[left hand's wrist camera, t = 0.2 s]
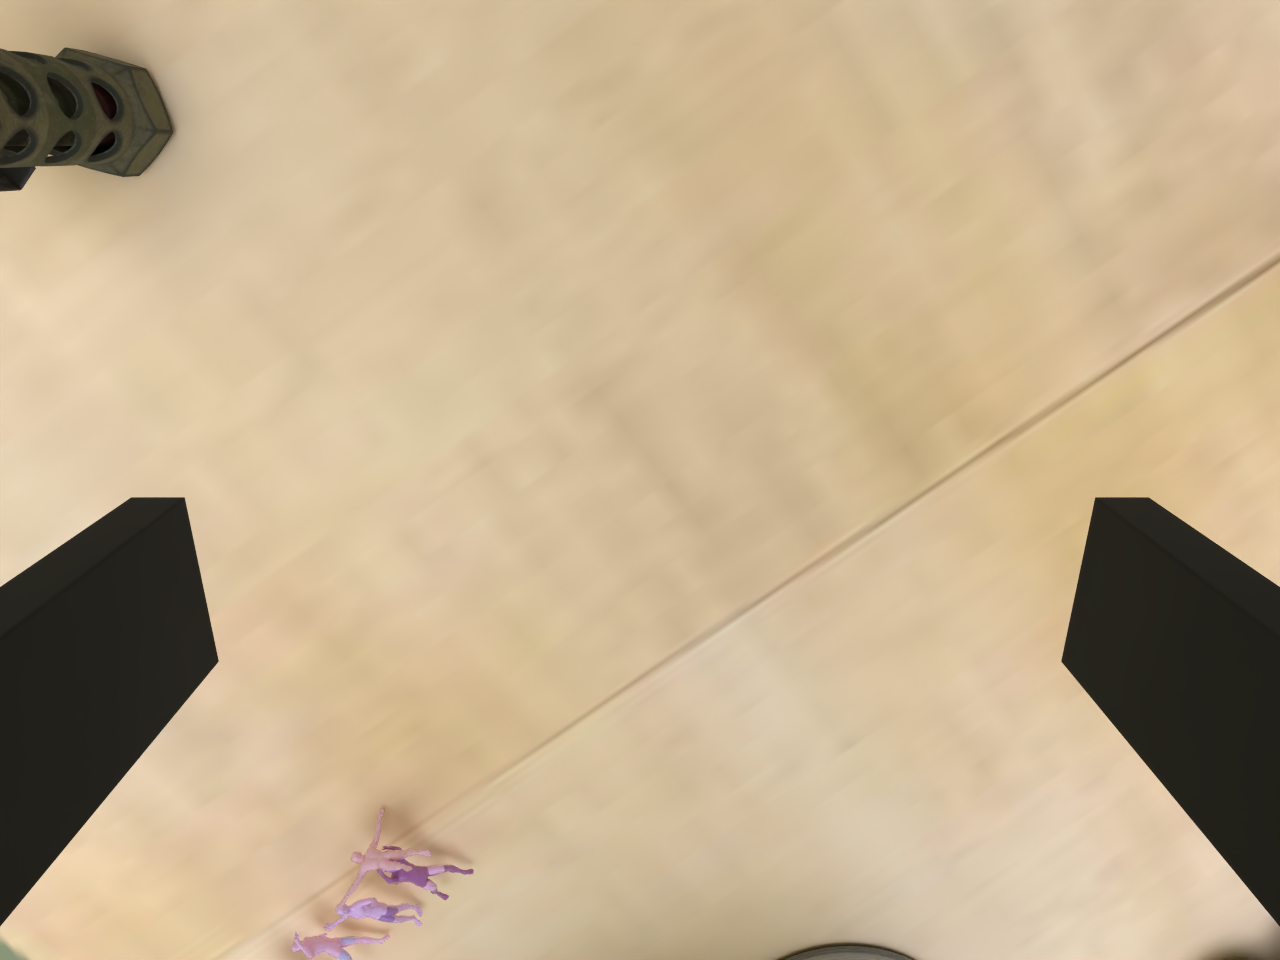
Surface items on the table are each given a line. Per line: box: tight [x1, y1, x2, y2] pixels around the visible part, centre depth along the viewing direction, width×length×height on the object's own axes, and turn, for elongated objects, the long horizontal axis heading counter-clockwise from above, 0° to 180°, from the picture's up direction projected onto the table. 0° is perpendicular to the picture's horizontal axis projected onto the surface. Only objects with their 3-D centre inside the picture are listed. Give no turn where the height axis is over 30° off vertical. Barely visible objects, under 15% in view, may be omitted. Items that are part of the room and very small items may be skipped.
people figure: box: [291, 808, 473, 960], centre depth 51 cm, size 18×6×8 cm
